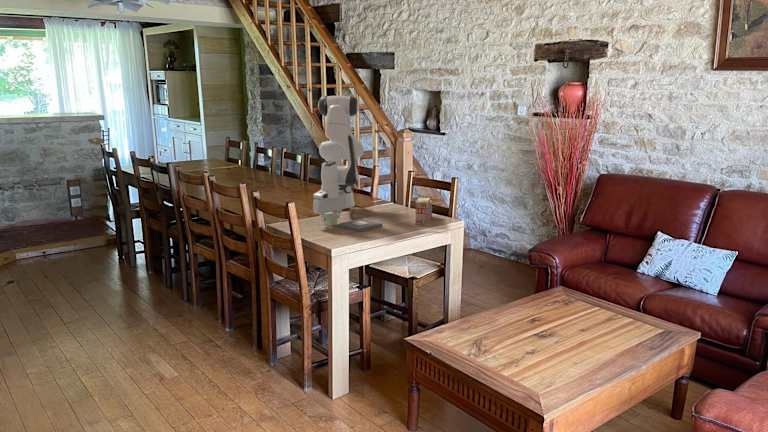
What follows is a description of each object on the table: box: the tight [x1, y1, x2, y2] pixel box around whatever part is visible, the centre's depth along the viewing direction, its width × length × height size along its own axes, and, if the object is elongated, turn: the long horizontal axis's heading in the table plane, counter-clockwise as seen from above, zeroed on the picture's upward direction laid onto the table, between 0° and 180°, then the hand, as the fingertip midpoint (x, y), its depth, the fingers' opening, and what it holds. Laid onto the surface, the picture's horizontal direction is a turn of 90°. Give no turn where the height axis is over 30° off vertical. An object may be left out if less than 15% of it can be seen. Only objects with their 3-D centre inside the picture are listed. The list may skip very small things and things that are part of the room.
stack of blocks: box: [415, 197, 433, 226], centre depth 325 cm, size 21×6×12 cm, turn 169°
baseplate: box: [337, 218, 383, 232], centre depth 314 cm, size 16×16×2 cm
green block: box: [323, 211, 339, 227], centre depth 317 cm, size 5×5×6 cm
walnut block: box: [349, 206, 364, 221], centre depth 330 cm, size 5×5×6 cm
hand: (330, 219), depth 317 cm, fingers open, 8 cm apart
